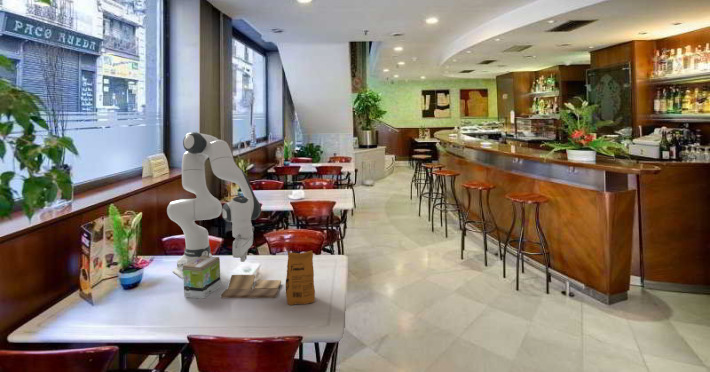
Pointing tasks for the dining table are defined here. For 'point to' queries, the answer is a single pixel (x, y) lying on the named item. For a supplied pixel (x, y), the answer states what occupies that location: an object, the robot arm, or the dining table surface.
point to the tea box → (201, 276)
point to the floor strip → (249, 293)
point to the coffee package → (300, 278)
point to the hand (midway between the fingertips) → (243, 260)
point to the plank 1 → (241, 282)
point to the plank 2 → (267, 284)
